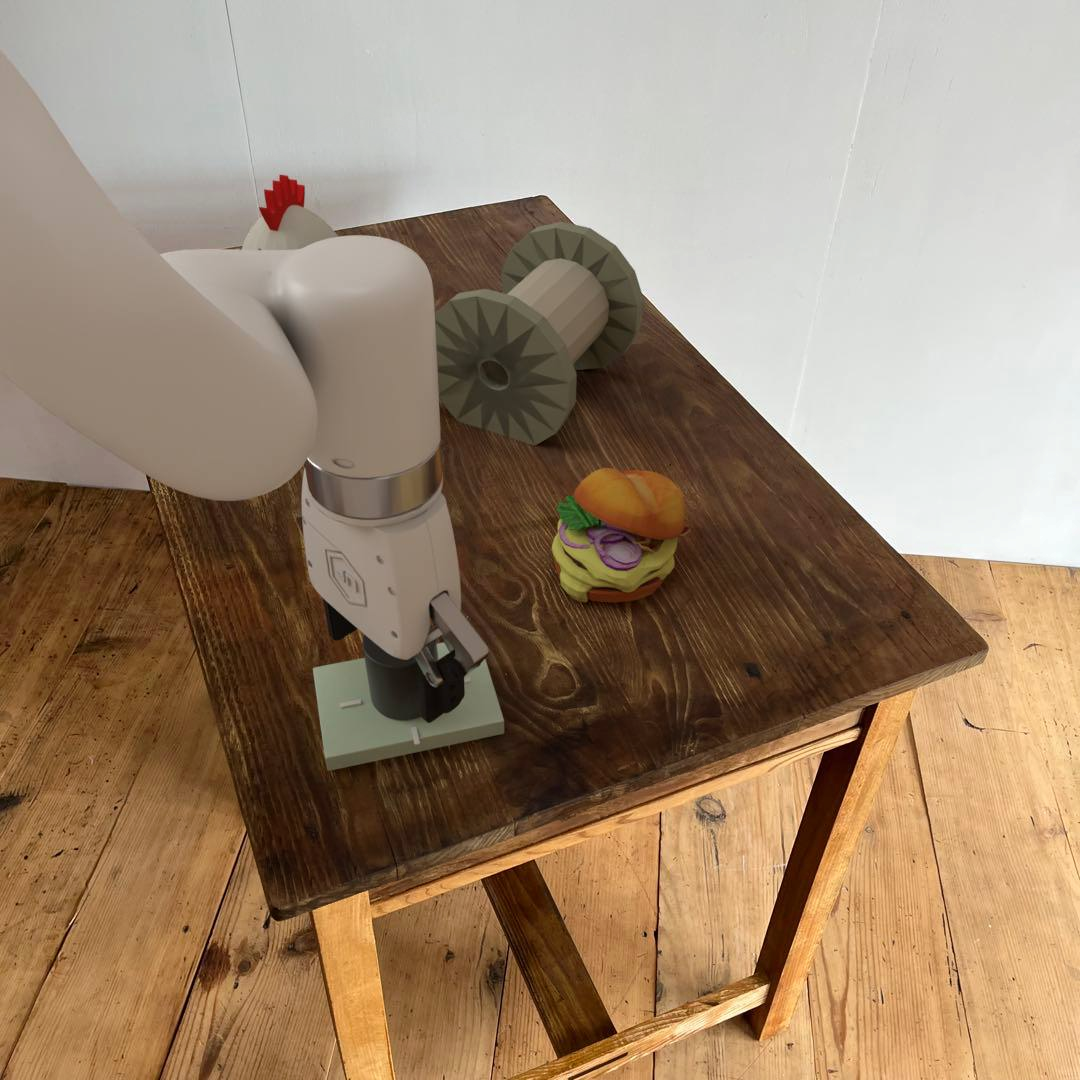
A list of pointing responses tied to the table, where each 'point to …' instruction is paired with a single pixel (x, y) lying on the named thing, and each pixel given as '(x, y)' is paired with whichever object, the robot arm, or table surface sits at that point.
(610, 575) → the cheeseburger
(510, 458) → the table surface
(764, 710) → the table surface
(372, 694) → the knob
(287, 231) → the kitchen timer
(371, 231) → the table surface
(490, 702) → the dial panel
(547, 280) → the spool
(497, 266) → the table surface
